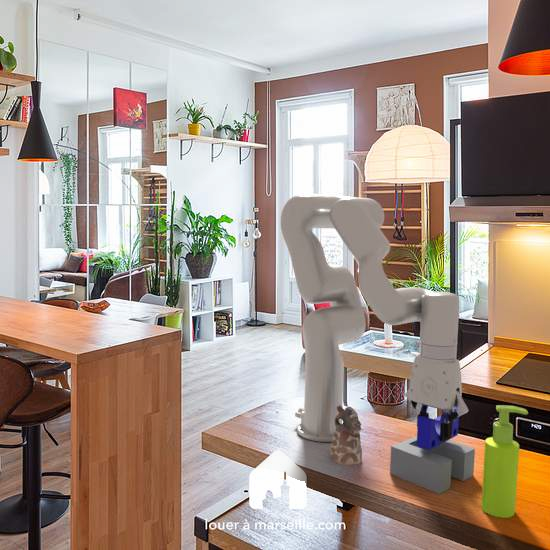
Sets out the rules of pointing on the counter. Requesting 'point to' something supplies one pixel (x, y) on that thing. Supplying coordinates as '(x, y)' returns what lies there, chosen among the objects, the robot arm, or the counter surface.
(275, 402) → the counter surface
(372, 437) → the counter surface
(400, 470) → the slotted block
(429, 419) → the cable clip
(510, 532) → the counter surface
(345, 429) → the figurine
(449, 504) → the counter surface
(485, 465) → the soap dispenser
